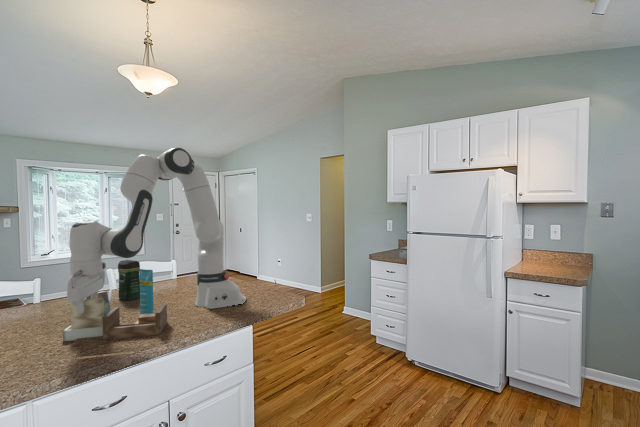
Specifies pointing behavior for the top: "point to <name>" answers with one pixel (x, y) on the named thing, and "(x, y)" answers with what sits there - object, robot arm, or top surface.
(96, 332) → the tray
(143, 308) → the tube
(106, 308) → the beverage carton
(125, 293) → the coffee jar
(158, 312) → the rack
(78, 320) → the sheet
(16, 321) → the top surface
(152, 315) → the offcut short
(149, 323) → the block
